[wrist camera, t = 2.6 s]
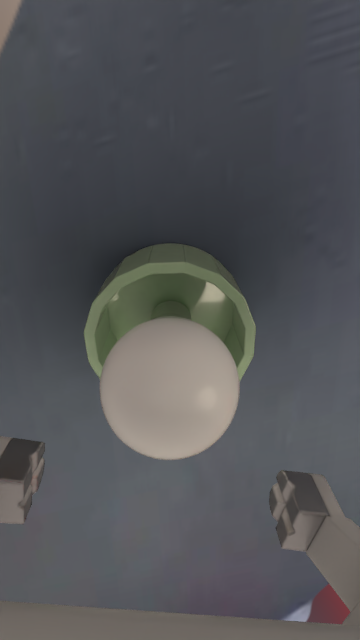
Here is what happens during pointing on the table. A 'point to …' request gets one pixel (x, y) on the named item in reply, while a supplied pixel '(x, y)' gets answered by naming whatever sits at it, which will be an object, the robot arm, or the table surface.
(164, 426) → the lightbulb
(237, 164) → the table surface
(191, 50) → the table surface
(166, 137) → the table surface
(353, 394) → the table surface
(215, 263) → the green round bowl
